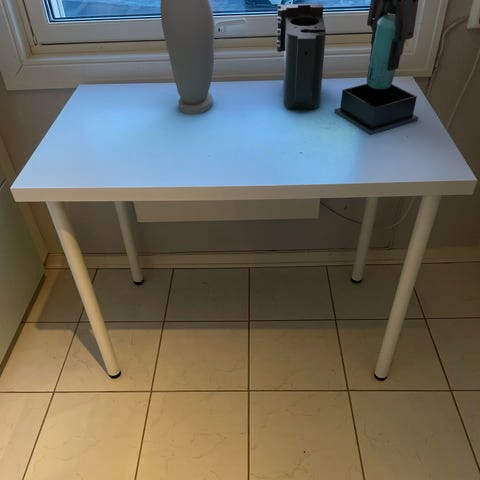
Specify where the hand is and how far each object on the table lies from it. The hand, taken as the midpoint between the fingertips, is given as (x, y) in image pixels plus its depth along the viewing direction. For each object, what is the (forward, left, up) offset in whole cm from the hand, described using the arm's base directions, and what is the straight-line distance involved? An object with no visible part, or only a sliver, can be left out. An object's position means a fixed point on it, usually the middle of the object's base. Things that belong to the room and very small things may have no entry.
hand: (383, 64), depth 125 cm
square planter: (0, 0, -13) cm, 13 cm away
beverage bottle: (+1, 0, -6) cm, 6 cm away
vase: (+31, +37, -13) cm, 50 cm away
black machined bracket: (+20, +11, -13) cm, 26 cm away
